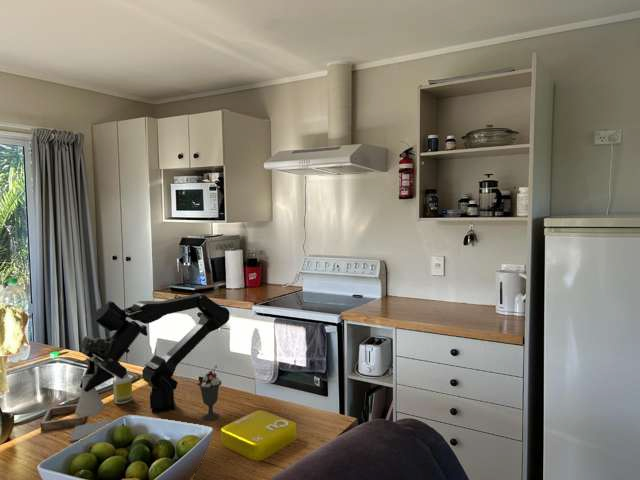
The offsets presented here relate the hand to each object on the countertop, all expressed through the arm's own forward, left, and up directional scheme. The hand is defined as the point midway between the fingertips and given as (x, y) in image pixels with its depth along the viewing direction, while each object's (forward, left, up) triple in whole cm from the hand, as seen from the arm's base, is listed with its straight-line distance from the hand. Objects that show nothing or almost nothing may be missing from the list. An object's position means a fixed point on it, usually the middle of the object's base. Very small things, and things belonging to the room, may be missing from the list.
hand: (83, 389), depth 129 cm
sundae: (-33, +3, -12) cm, 36 cm away
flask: (-1, -1, -7) cm, 7 cm away
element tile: (-44, +21, -13) cm, 50 cm away
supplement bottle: (-8, -19, -12) cm, 25 cm away
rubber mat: (-1, 0, -12) cm, 12 cm away
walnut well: (+7, -11, -12) cm, 18 cm away
